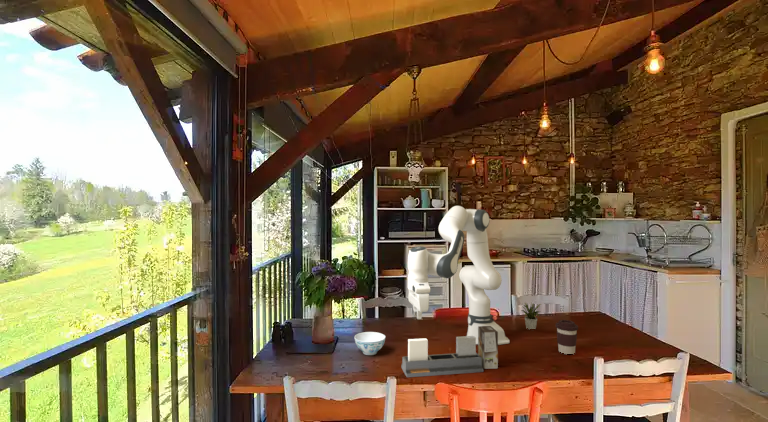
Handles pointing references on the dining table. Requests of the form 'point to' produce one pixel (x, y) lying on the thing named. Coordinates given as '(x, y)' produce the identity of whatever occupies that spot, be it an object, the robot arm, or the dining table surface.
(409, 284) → the robot arm
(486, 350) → the coffee box
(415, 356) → the panel
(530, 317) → the house plant
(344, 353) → the dining table surface
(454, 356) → the panel rack
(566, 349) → the coffee cup
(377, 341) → the chinaware
